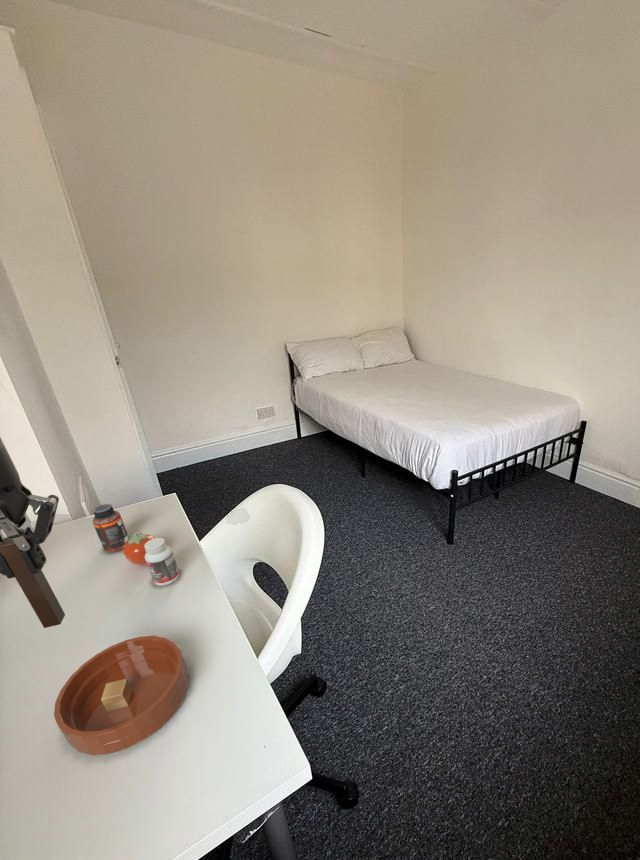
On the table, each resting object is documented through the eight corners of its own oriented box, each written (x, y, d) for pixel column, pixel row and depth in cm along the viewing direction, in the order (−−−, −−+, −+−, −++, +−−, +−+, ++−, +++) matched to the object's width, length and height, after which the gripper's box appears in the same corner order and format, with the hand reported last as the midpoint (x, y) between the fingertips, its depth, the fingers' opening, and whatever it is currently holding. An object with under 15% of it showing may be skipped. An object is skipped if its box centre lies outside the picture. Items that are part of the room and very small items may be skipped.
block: (107, 712, 65) (100, 700, 63) (112, 695, 67) (106, 683, 66) (128, 706, 65) (122, 694, 64) (132, 690, 68) (126, 678, 67)
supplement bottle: (136, 542, 107) (122, 504, 102) (114, 555, 102) (98, 516, 97) (120, 537, 109) (106, 499, 104) (98, 549, 104) (82, 511, 99)
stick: (44, 628, 58) (-4, 546, 51) (49, 618, 59) (4, 537, 53) (60, 624, 58) (15, 543, 52) (65, 614, 60) (22, 534, 54)
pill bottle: (148, 586, 92) (134, 550, 87) (162, 570, 96) (149, 535, 92) (171, 586, 91) (159, 550, 87) (184, 570, 96) (173, 535, 91)
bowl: (48, 774, 57) (33, 753, 55) (87, 671, 72) (76, 651, 70) (183, 734, 62) (174, 713, 59) (194, 645, 77) (187, 625, 74)
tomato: (131, 554, 102) (121, 527, 98) (164, 548, 104) (155, 521, 100) (124, 573, 96) (113, 545, 92) (159, 566, 98) (149, 538, 94)
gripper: (44, 431, 52) (94, 544, 60) (-94, 448, 48) (-21, 566, 56) (17, 453, 45) (77, 577, 53) (-144, 475, 42) (-54, 604, 50)
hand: (26, 571), depth 55 cm, fingers closed on stick, 2 cm apart
